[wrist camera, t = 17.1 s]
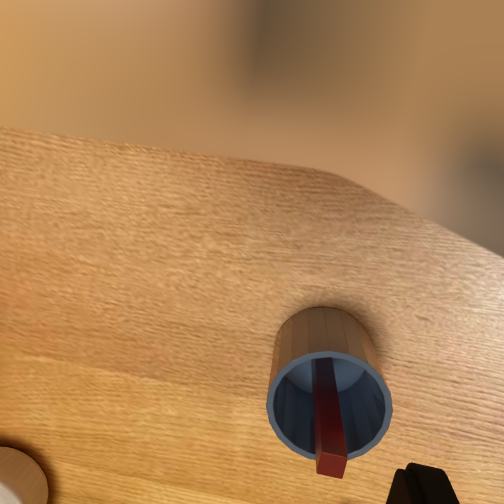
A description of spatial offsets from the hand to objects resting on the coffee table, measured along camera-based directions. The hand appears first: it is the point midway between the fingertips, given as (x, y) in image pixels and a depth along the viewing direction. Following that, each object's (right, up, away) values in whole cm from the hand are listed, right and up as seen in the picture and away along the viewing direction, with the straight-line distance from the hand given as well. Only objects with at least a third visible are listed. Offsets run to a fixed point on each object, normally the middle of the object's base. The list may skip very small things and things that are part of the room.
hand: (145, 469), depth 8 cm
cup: (+9, -5, +32) cm, 33 cm away
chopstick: (+8, -5, +31) cm, 33 cm away
